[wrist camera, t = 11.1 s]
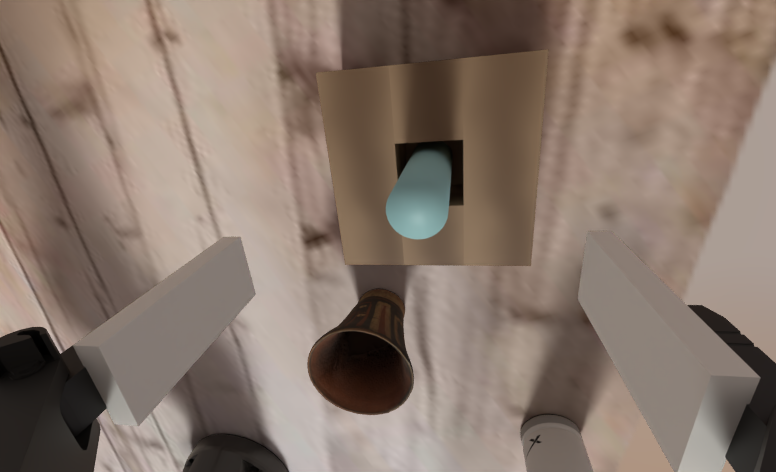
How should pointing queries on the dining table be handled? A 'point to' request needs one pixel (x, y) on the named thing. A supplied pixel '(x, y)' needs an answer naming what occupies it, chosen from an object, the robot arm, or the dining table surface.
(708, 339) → the robot arm
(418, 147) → the dowel
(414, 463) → the dining table surface
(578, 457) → the travel mug
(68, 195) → the dining table surface
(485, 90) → the socket block
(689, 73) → the dining table surface
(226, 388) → the dining table surface
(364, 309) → the cup
